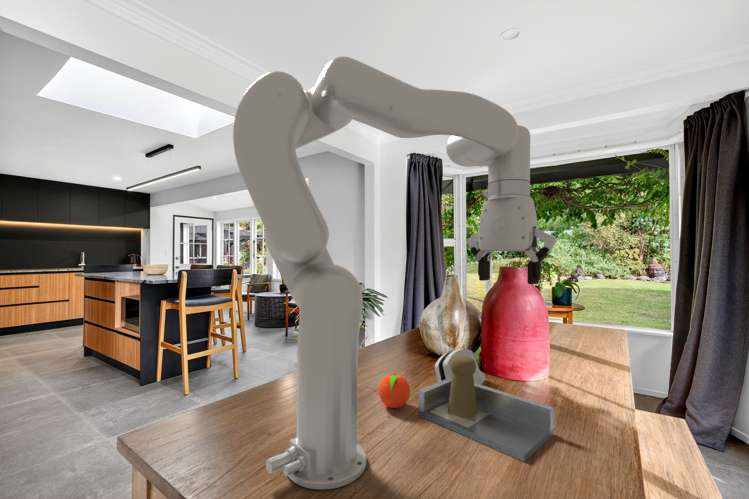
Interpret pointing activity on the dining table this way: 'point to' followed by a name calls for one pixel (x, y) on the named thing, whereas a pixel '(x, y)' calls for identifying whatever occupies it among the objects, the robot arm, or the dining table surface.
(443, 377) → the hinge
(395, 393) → the clementine
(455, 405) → the olive pawn figure
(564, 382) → the dining table surface
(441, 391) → the tray
